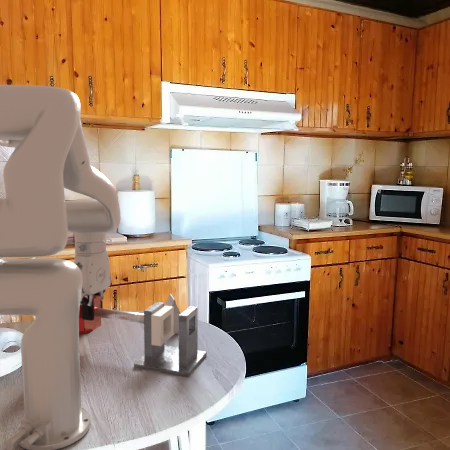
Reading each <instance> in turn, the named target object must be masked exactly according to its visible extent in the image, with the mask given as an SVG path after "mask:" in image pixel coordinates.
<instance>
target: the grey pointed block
mask: <svg viewBox="0 0 450 450" xmlns="http://www.w3.org/2000/svg"><path fill="white" fill-rule="evenodd" d="M164 306H173V307H174V335H176V334H175V333H177V334H179V314H181V313H182V312H181V311H180V309H179V307H178V305H177V303H176V299H175V298H174V296H173V295H172V293H169V294H168V297H167V300H166V301H165V303H164Z"/></svg>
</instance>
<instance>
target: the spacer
mask: <svg viewBox="0 0 450 450" xmlns="http://www.w3.org/2000/svg"><path fill="white" fill-rule="evenodd" d="M174 335H175V334H174V307H173V306H165V305H164V306H163V307H162V308H161V309H159V310H158V311H156V312H155V313H154V314H152V315H151V345H156V346H162V345H163V344H164V343H166V342H167V341H168V340H169V339H171V338H172V337H173V336H174Z"/></svg>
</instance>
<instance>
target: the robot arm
mask: <svg viewBox="0 0 450 450" xmlns="http://www.w3.org/2000/svg"><path fill="white" fill-rule="evenodd" d="M81 107H82V106H81V102H80V99H79V97H78V95H77V94H76V93H74V92H73V91H72V90H69V89H66V88H63V87H58V86H50V85H35V84H33V85H32V84H0V147H1V146H2V147H6V148H15V149H14V150H13V152H12V153H11V154H10V156H9V157H8V159H7V161H6V162H5V165H4V167H3V171H2V172H3V173H2V175H3V177H2V178H3V183H4V190H5V198H0V316H20V315H21V316H22V315H24V316H33V317H34V318H35V319H34V320H33V321H32V323H31V324H30V325H29V326H28V327H27V328H26V329H25V331H24V332H23V335H22V337H21V341H20V354H21V371H22V372H21V373H22V389H23V390H22V393H23V394H22V395H23V408H24V409H23V410H24V415H23V416H22V417H21V418H19V419H20V422H19V424H18V425H17V426H16V430H15V432H14V433H12V434H10V435H9V436H8V437H7V438H6V439H5V440H4V441H3V446H4V448H5V449H6V450H13V449H15V448H16V447H17V446H20V447H22V449H25V450H59V449H62V448H66V447H68V446H71V445H72V444H74V443H75V442H78V441H79V440H80V439H82V438H83V437H84V436H85V435H86V434H87V432H88V431H89V430H90V427H91V425H92V419H91V418H92V417H91V415H90V412H88V411H87V409H85V408H83V407H82V388H81V387H82V383H81V382H82V381H81V359H80V358H81V355H80V354H81V353H80V334H79V310H80V305H82V319H83V320H90V321H92V320H94V305H92V295H98V296H101V308H103V307H104V306H103V304H104V303H103V300H104V299H105V297H104V295H105V292H106V290H107V289H108V288H109V287H111V284H112V283H111V282H112V280H111V279H112V278H111V267H110V265H111V264H110V258H109V253H108V250H107V241H106V240H107V238H106V235H107V234H106V233H114V232H115V231H116V230H117V229H118V228H119V226H120V224H121V208H120V201H119V197H118V193H117V189H116V188H115V186H114V184H113V183H112V182H111V181H110V180H109V179H108V177H106V176H105V175H104V174H103V173H102V172H100V171H99V170H98V169H97V168H96V167H94V166H92V165H91V162H90V157H89V152H88V147H87V144H86V143H87V142H86V138H85V135H84V130H83V125H82V120H81V115H82V114H81V113H82V112H81V111H82V109H81ZM65 189H66V190H69V191H71V192H74V193H77V194H80V195H83V196H86V198H79V199H76V200H66V197H65V196H66V194H65ZM87 197H89V198H87ZM70 233H71V234H74V254H75V255H74V260H73V261H71V260H67V259H63V258H49V257H48V256H55V255H57V254H60V253H61V252H62V251H63V250H64V249H65V248H66V246H67V244H68V238H69V234H70ZM38 257H41V258H38ZM42 257H43V258H42ZM44 257H45V258H44ZM47 257H48V258H47ZM85 296H88V299H87V298H86V297H85Z"/></svg>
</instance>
